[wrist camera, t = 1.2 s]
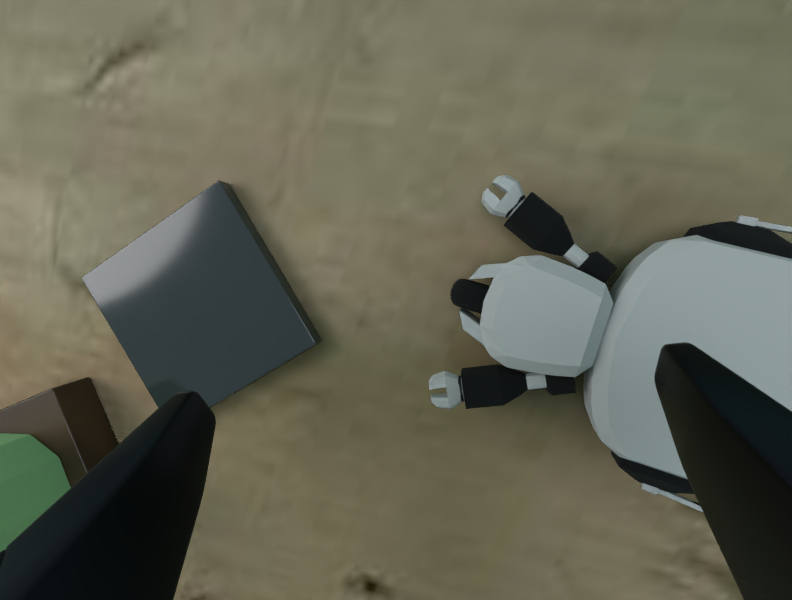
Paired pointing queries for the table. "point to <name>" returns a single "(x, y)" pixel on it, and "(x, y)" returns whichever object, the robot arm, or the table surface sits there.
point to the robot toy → (624, 325)
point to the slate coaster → (201, 302)
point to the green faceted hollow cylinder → (26, 483)
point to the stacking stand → (65, 425)
